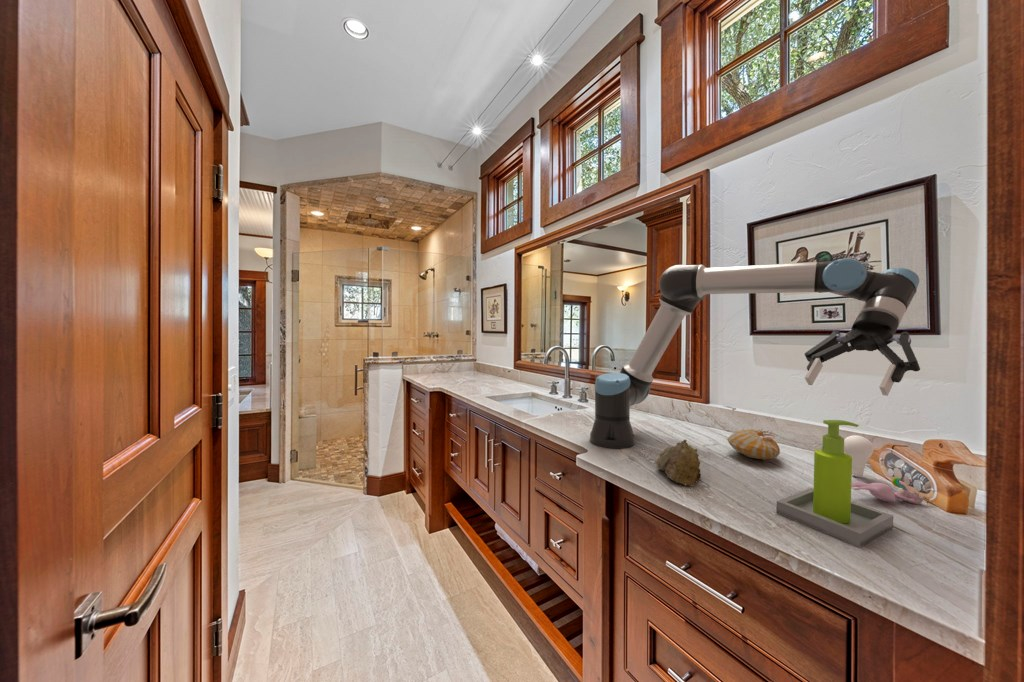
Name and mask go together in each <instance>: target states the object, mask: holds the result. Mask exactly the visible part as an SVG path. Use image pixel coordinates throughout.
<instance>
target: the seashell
mask: <svg viewBox="0 0 1024 682" xmlns="http://www.w3.org/2000/svg"><path fill="white" fill-rule="evenodd" d="M698 451H699V450H698V448H693V447H692V446H691V445H689V443H688V442H687V439H683V440H682V441H680V442H677V443H676V445H673V446H668V447H666V448H665V449H664V450H662V451H661V452H660V453H659V454H658V455H659V457H658V458H657V459H656V460H655V464H656V466H657V469H658V470H660V471H662V472H664V473H665V474H666V477H667V478H668V479H669V478H670V480H671V481H673V482H676V483H678V484H681V485H684V486H689V487H690V486H691V487H694V486H695V485H694V484H697V482H699V481H701V478H702V475H701V469H700V467H701V465H700V464H701V461H700V459H699V456H700V455H699V454H698Z"/></svg>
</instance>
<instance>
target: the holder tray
mask: <svg viewBox="0 0 1024 682" xmlns="http://www.w3.org/2000/svg"><path fill="white" fill-rule="evenodd" d="M813 492H814V487H809V488H807V489H804V490H802V491H799V492H797V493H794V494H792V495H789V496H787V497H783V498H781V499H778V500H777V501H776V513H777V514H778V515H780V516H783V517H785V518H788V519H790V520H793V521H796V522H797V523H800V524H802V525H805V526H807V527H809V528H812V529H814V530H817V531H818V532H821V533H824V534H827V535H829V536H831V537H833V538H836V539H838V540H841V541H843V542H846V543H848V544H850V545H852V546H855V547H857V548H862V547H863V546H866V545H867V544H869V543H870V542H872V541H873V540H875V539H877V538H878V537H880V536H882V535H884V534H886V533H887V532H889V531H890V530H892V529H894V514H891V513H888V512H884V511H883V510H880V509H879V510H878V509H876V508H873V507H870V506H867V505H864V504H861V503H859V502H855V501H852V500H851V518H850V522H849V523H839V522H836V521H834V520H831V519H828V518H826V517H823V516H821V515H818V514H815V513H813Z"/></svg>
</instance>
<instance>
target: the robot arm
mask: <svg viewBox="0 0 1024 682" xmlns="http://www.w3.org/2000/svg"><path fill="white" fill-rule="evenodd" d="M866 268H867V267H865V265H864V264H863V263H862V262H861V261H859V260H857V259H854V258H851V257H850V258H849V257H848V258H847V257H846V258H845V257H844V258H838V259H835V260H828V261H826V260H825V261H823V260H822V261H810V262H808V261H807V262H791V263H790V262H788V263H774V264H773V263H771V264H755V265H739V266H737V265H736V266H722V267H721V266H720V267H706V266H705V265H703V264H690V265H687V264H675V265H672V266H670V267H668V268H666V269H665V270H664V271H663V273H661V275H660V277H659V281H658V287H659V291H660V293H661V294H660V296H659V298H658V300H659V303H660V306H659V308H658V310H657V311H656V314H655V315H654V317H653V319H652V321H651V323H650V324H649V327H648V328H647V330H646V332H645V334H644V335H643V337H642V340H641V341H640V343H639V345H638V347H637V348H636V350H635V352H634V354H633V356H632V358H631V360H630V361H629V363H626V364H624V365H622V368H621V369H620V371H619V372H609V373H604V374H603V373H602V374H600V375H598V376H597V377H596V378H595V383H594V384H595V385H594V408H595V409H594V415H595V416H594V417H595V418H594V421H593V425H592V430H591V432H590V434H589V441H590V442H591V443H592V444H594V445H596V446H599V447H602V448H610V449H624V448H625V449H627V448H631V447H632V446H634V445H635V444H636V436H635V433H634V431H633V427H632V424H631V422H630V421H631V420H630V417H631V415H630V412H631V411H630V407H633V406H636V405H639V404H640V403H642V402H643V401H645V400H646V399H647V398H648V396H649V395H650V392H651V385H652V384H653V382H654V377H653V373H654V371H655V369H656V368H657V366H658V363H659V362H660V361H661V358H662V356H663V355H664V353H665V352H666V349H667V348H668V347H669V345H670V343H671V341H672V339H673V338H674V336H675V334H676V332H677V330H678V329H679V327H680V325H681V323H682V322H683V320H684V318H685V317H686V316H688V315H692V314H693V312H694V310H695V308H696V307H697V305H698V304H699V303H700V302H701V301H702V300H703V299H705V297H706V296H707V295H725V294H726V295H727V294H728V295H730V294H732V295H733V294H734V295H735V294H777V293H779V294H780V293H781V294H782V293H783V294H787V293H794V294H795V293H831V294H835V295H837V296H838V295H839V296H841V297H846V298H851V299H854V300H858V301H862V302H864V304H863V306H862V308H861V310H860V311H859V313H858V315H857V317H856V318H855V320H854V322H853V324H852V325H851V329H850V331H848V332H840V330H838V329H835V330H833V331H832V332H831V334H830V335H829V336H827V337H826V338H825V339H823V340H821V342H820V341H819V343H818V344H816V345H815V346H813V347H811V348H810V349H808V350H807V351H806V352H804V356H805V358H806V360H807V362H808V364H807V366H806V370H807V373H806V375H805V376H804V379H805V381H806V383H807V385H809V386H813V385H814V382H815V381H816V379H817V377H818V376H819V373H820V372H821V370H822V369H823V366H824V365H823V363H824V362H827V361H830V360H831V359H833V358H835V357H839V356H840V355H842V354H844V353H850V352H853V351H867V352H874V351H876V350H878V351H879V353H880V354H881V355H882V356H884V357H885V358H886V359H887V360H888V361H889V362H890V363H891V364H889V366H888V369H887V370H886V373H885V374H884V377H883V378H882V381H881V382H880V385H879V390H880V392H881V394H882V396H886V397H888V396H889V393H890V392H891V389H892V387H893V386H894V383H900V382H901V381H902V380H903V378H904V375H905V374H906V372H909V371H913V372H919V371H920V370H921V367H920V364H919V362H918V359H917V357H916V355H915V352H914V351H913V348H912V347H911V343H912V339H911V338H912V337H911V336H910V334H909V332H908V331H902V332H900V334H896V332H897V330H898V327H899V326H900V323H901V322H902V320H903V318H904V316H905V313H906V312H907V310H908V308H909V306H910V305H911V302H912V300H913V299H914V297H915V295H916V293H917V289H918V287H919V284H920V277H919V275H918V274H917V272H914V271H913V270H911V269H909V268H904V267H896V268H894V267H893V268H888V269H886V270H884V271H883V272H877V271H876V272H875V271H870V270H867V269H866ZM893 342H896V344H898V345H900V346H901V348H902V351H903V353H904V355H905V358H906V359H907V361H905V360H904V359H902V358H901V357H900V356H899V355H898V354H897V353H896V352H895V351H894V350H893V349H892V348H891V347H890V346H888V345H890V344H891V343H893Z"/></svg>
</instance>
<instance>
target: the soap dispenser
mask: <svg viewBox="0 0 1024 682" xmlns="http://www.w3.org/2000/svg"><path fill="white" fill-rule="evenodd" d="M822 421H823V424H825V425H827V433H826V434H824V435H822V445H821V449H815V450H814V457H813V458H814V459H813V461H814V462H813V489H814V492H813V513H815V514H818V515H821V516H823V517H826V518H828V519H831V520H834V521H836V522H839V523H849V522H850V518H851V501H852V487H851V483H853V482H852V481H853V480H852V479H853V478H852V477H853V474H852V456H850V455H848V454H846V453H845V452H844V439H845V438H844V437H842V436H841V435H840V426H849V427H850V426H851V427H854V428H858V427H860V424H858V423H854V422H850V421H846V420H843V419H842V420H840V419H825V420H822Z"/></svg>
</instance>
